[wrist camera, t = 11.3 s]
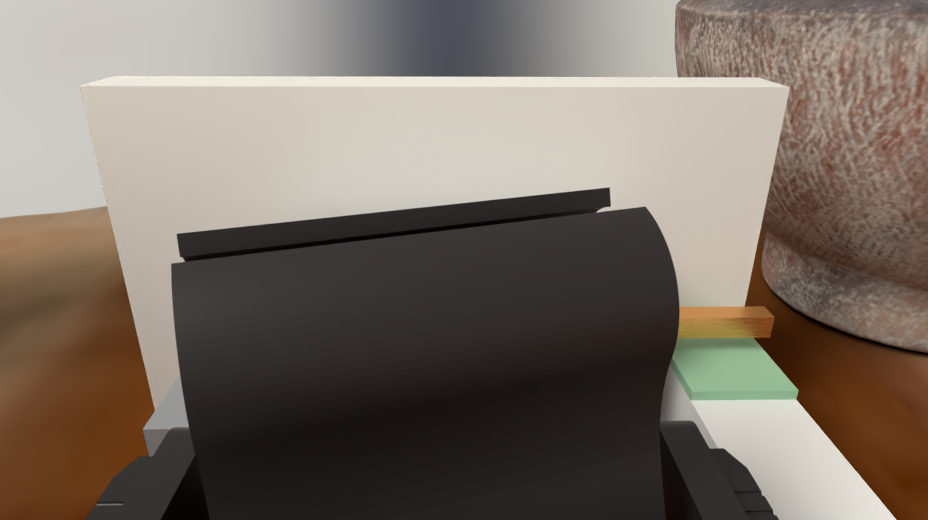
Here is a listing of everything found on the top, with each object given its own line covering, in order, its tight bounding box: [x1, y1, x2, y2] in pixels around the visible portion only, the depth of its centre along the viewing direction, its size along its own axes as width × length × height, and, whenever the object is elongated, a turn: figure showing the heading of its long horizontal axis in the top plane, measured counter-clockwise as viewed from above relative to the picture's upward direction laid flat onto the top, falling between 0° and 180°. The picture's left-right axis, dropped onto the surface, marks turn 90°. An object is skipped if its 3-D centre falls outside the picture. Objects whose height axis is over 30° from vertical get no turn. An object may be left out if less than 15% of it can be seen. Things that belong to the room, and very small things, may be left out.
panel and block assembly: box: [79, 76, 896, 520], centre depth 17 cm, size 20×11×12 cm, turn 91°
